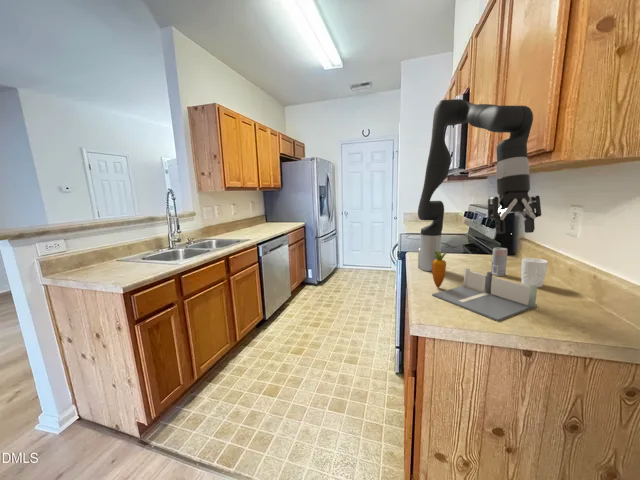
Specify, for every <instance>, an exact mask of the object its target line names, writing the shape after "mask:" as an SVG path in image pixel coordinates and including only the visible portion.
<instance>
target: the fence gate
mask: <svg viewBox="0 0 640 480" xmlns="http://www.w3.org/2000/svg"><path fill="white" fill-rule="evenodd" d="M491 294H493V295H497V296H500V297H503V298H506V299H509V300H513V301H516V302H519V303H522V304H525V305H528V306H531V307H534V308H536V307H535V304H536V301H537V295H538V287H537V286H536V285H530V286H528V285H524V284H522V283H519V282H515V281H512V280H508V279H503V278H500V277H497V276H492V283H491Z"/></svg>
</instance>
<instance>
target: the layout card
mask: <svg viewBox="0 0 640 480" xmlns="http://www.w3.org/2000/svg"><path fill="white" fill-rule="evenodd" d="M485 292H486V291H485ZM485 292H484V291H481V290H477V289H474V288H471V287H464V286H463V285H460V286H456V287H454V288H448V289H446V290H443V291H438V292H434V293H432V294H431V295H432V297H435V298H437V299H439V300H442V301H445V302H448V303H450V304H452V305H455V306H458V307H460V308H463V309H466V310H468V311H470V312H472V313H475V314H478V315H480V316H483V317H486V318H488V319H491V320H493V321H495V322H500V321H502V320H503V321H504V320H505V319H507V318H510V317H512V316H515V315H518V314H520V313H523V312H526V311H528V310H531V309H533V308H536V307H537V306H538V304H535V307H531V306H528V305H525V304H522V303H519V302H516V301H513V300H509V299H506V298H503V297H500V296H497V295H493V294H487V293H485Z"/></svg>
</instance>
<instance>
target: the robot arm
mask: <svg viewBox="0 0 640 480" xmlns="http://www.w3.org/2000/svg"><path fill="white" fill-rule="evenodd" d="M533 121H534V113H533V111H532V108H530V107H528V106H527V105H497V104H490V103H489V104H487V103H486V104H484V103H479V104H477V103H473V102H469V101H467V100H465V99H461V98H456V99H455V98H453V99H441V100H440V101H438V102H437V104H436V106H435V108H434V112H433V117H432V129H431V131H432V132H431V139H430V148H429V154H428V158H427V162H426V168H425V175H424V183H423V187H422V192H421V195H420V199H419V203H418V209H417V217H418V219H419V221H432V222H431V223H430V224H429V225H427V226H424V227H422V228H421V229H420V241H419V242H420V245H419V246H420V248H418V255H417V259H418V260H417V268H418V269H419V270H422V271H424V272H425V271H426V272H432V262H433V261H434V260H435V259H437V258H436V257H435V256H437V255H436V253H435V251H436V250H437V251H438V254H439V252H441V250H442V234H443V233H442V231H443V227H444V226H443V225H444V215H445V204H444V203H443V201H442V200H431V199H432V197H433V194H435V192H436V190H437V189H438V188H439V187H440V186H441V184H443V182H444V181H445V180H446V179H447V178H448V176H449V172H450V167H451V163H452V157H451V153H450V151H449V149H448V146H447V144H446V141H445V131H446V127H449V126H456V125H461V124H469V125H470V126H472V127H474V128H478V129H482V130H483V129H484V130H487V131H488V132H491V133H492V132H493V133H499V134H501V133H502V134H503V133H509V138H507V139H503V140H501V141H500V142H499V143H497V146H496V190H497V191H496V192H497V194H498V196H494V197H493V196H491V197H489V198H488V199H487V202H488V203H487V218H488V220H489V219H490V220H494V222H495V231H496V234H497V235H503V234H506V220H505V218H506V216H507V215H509V214H510V213H518V214H519V215H521V216H522V218H524V220H523V221H524V223H523V224H524V225H523V226H524V232H525V233H526V234H529V233H530V234H531V233H532V234H533V233H534V232H535V219H536V218H538V217H542V207H541V198H540V196H539V195H533V196H529V192H530V190H531V180H530V178H531V177H530V164H529V161H528V159H529V158H528V144H527V143H528V141H529V137H530V134H531V129H532V126H533ZM499 205H500V206H499ZM441 253H442V252H441Z"/></svg>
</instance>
